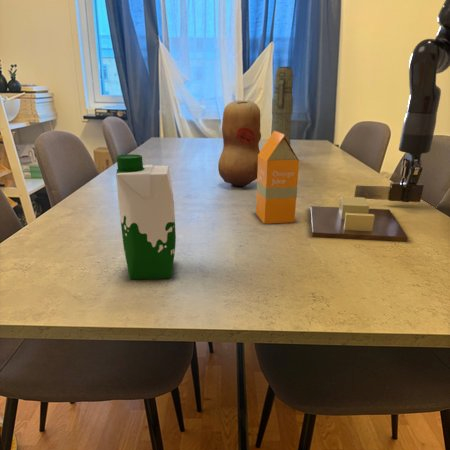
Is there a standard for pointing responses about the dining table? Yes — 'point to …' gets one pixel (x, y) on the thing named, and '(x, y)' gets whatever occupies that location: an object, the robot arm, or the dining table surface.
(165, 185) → the milk carton
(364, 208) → the butter block
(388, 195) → the knife
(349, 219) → the butter slice
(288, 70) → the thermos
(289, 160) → the orange juice
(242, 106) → the butternut squash
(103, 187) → the dining table surface
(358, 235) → the board
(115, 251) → the dining table surface
